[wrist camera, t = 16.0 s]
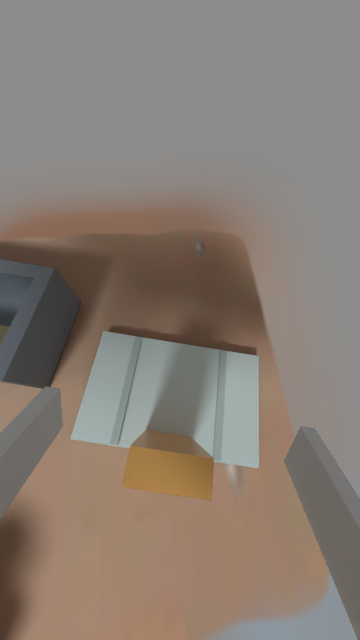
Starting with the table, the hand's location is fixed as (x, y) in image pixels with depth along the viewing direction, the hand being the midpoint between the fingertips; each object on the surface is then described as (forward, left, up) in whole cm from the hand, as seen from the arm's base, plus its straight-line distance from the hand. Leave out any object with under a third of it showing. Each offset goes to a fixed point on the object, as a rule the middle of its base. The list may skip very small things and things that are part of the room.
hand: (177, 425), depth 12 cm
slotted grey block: (0, +3, -15) cm, 15 cm away
